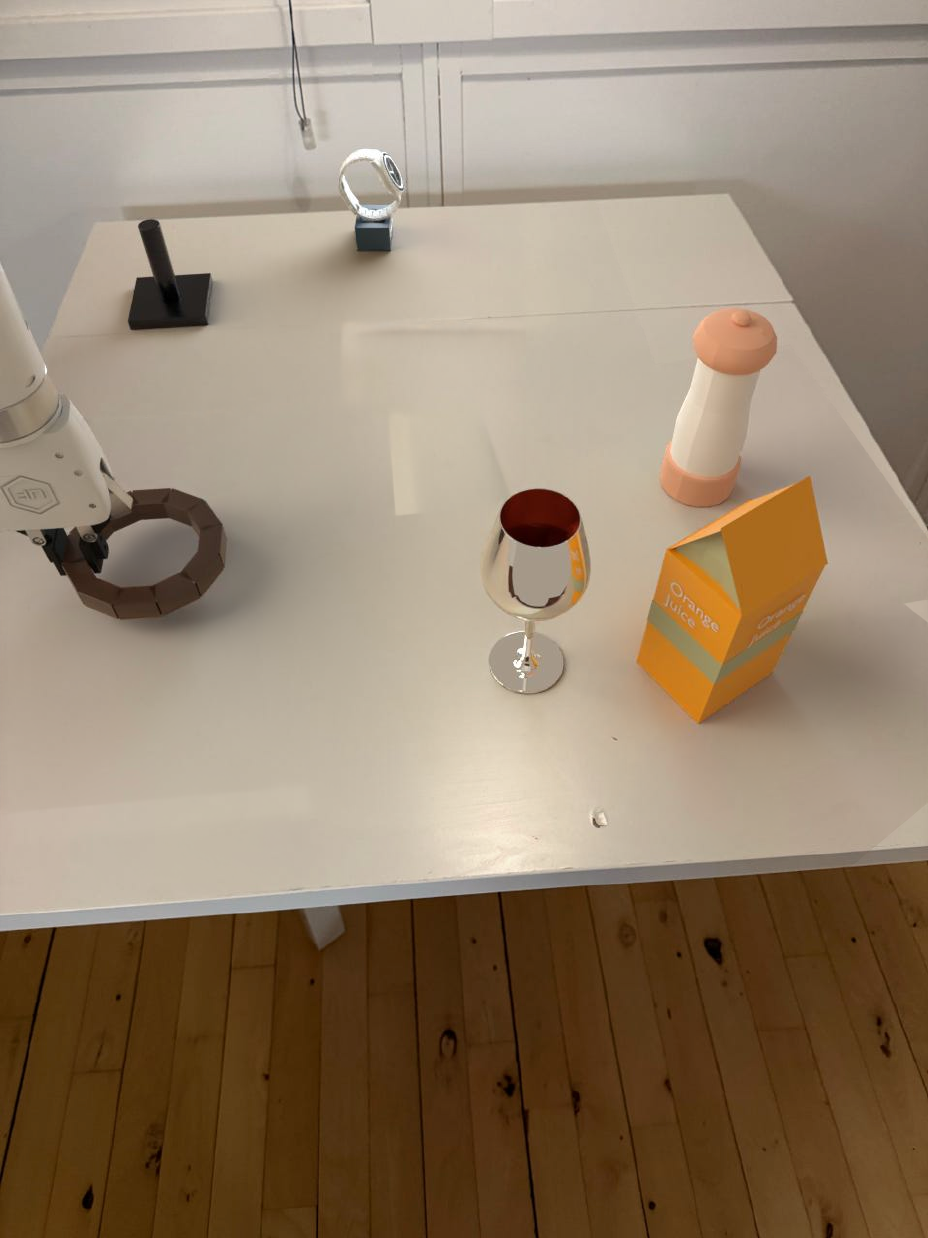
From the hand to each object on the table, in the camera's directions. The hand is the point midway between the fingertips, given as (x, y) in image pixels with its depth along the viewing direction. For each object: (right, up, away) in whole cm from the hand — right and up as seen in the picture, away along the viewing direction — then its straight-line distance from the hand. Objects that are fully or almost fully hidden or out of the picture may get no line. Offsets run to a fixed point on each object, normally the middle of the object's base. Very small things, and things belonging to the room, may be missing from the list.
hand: (83, 561), depth 80 cm
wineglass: (+39, -9, -3) cm, 41 cm away
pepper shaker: (+57, +9, +10) cm, 59 cm away
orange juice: (+55, -9, -4) cm, 55 cm away
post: (-1, +33, +28) cm, 43 cm away
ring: (+6, 0, +1) cm, 6 cm away
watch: (+23, +44, +37) cm, 62 cm away
